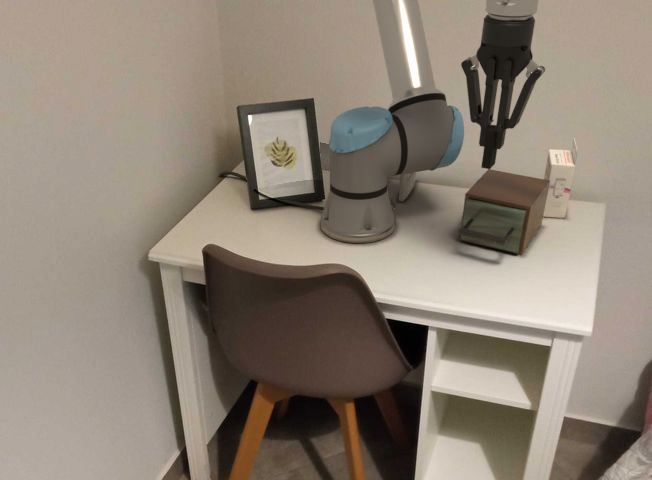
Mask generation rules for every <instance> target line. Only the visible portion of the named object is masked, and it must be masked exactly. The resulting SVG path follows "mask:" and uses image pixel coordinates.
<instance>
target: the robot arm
mask: <svg viewBox="0 0 652 480" xmlns="http://www.w3.org/2000/svg"><path fill="white" fill-rule="evenodd" d="M372 4H373V9H374V14H375V18H376V19H375V20H376V25H377V28H378V33H379V38H380V42H381V43H380V44H381V47H382V53H383V58H384V62H385V68H386V72H387V77H388V81H389V86H390V92H391V95H392V97H391V98H392V101H391V102H390V104H389V106H388V107H387V108H385V107H381V106H371V107H370V106H369V105H368V106H360V107H354V108H351V109H348V110H346V111H344V112H342V113H340V114H339V115H337V116H336V117H335V119H334V120H333V121H332V122H331V125H330V135H329V141H328V147H329V193H328V196H327V199H326V201H325V205H324V206H321V205H320V206H319V205H313V204H308V203H303V202H299V201H293V200H289V199H286V200H280V201H279V202H280V203H284V204H287V205H291V206H296V207H301V208H306V209H310V210H311V209H312V210H315V211H316V210H317V211H322V213H321V216H320V228H321V231H322V232H323V234H325V235H326V236H327V237H329V238H331V239H333V240H335V241H336V240H337V241H340V242H344V243H351V244H352V243H353V244H366V243H372V242H377V241H381V240H383V239H385V238H387V237H388V236H390V235H391V234H392V233H393V232H394V230H395V223H396V218H395V213H394V211H396V208H397V204H396V202H395V201H394V200H393V198H390V196H389V192H388V189H389V178H390V177H394V176H401V174H407V173H414V172H416V173H420V172H425V171H435V170H437V169H441V168H446V167H448V166H451V165H452V164H453V163H454V162H456V160H457V159H458V158H459V155H460V153H461V151H462V147H463V144H464V138H465V124H464V117H463V115H462V113H461V111H460V109H458V107H457V106H454V105H451V104H450V105H448V102H447V97H446V94H445V92H443V91H442V90H439V88H437V87H436V82H435V77H434V73H433V67H432V63H431V58H430V52H429V49H428V48H429V47H428V43H427V39H426V33H425V29H424V23H423V18H422V14H421V9H420V4H419V0H372ZM538 6H539V0H485V9H484V11H485V12H486V13H487V14H486V15H485V17H484V18H483V22H482V29H481V39H480V45H479V48H477V50H476V53H475V54H474V55H473V56H469V57H467V58H466V59H464V60H463V61H461V63H460V66H461V69H462V71H463V72H464V75H465V80H466V89H467V90H466V91H467V99H468V107H469V119H470V121H471V123H473V124H477V125H478V126H479V127H480V132H479V140H478V145H479V147H483V152H482V153H483V154H482V160H481V168H482V169H487V170H488V169H491V170H492V168H493V167H494V166H495V164H496V161H497V160H496V159H497V155H498V153H497V152H498V150H501V148H503V147H504V145H505V140H506V135H507V130H509V129H511V130H513V129H514V128H515V127H517V125H518V124H519V123H520V121H521V118H522V116H523V114H524V112H525V110H526V108H527V107H526V106H527V104H528V102H529V99H530V97H531V95H532V93H533V90H534V88H535V86H536V83H537V81H538V80H539V79H540V78H541V76H543V74H544V73H545V72H546V68H545V66H543V65H539V64H537V62H535V61H534V59H533V52H532V42H533V36H534V32H535V31H534V30H535V24H536V19H535V17H534V15H535V14H536V13H537V12H538ZM480 66H481V69H482V71H483V73H484V75H485V82H484V85H485V89H484V97H483V102H482V96H481V95H482V94H481V84H480V83H481V82H480V74H479V70H478V69H479V68H480ZM525 69H526V73H525V77H526V78H527V79H526V80H525V82H524V83H523V86H522V88H521V89H520V93H519V95H518V97H517V100H516V102H515V105H514V107H513V110H512V112H511V106H512V99H513V92H514V86H515V83H516V78H517V77H518V76H519V75H520V74H521V73H522V72H523V71H524V70H525ZM499 81H501V83H500V87H501V88H500V90H501V91H500V97H499V104H498V111H497V118H496V124H492V123H493V122H494V120H495V119H494V112H495V106H496V101H497V93H498V86H499ZM482 103H483V104H482ZM510 112H511V115H510ZM226 175H228V176H229V175H230V176H233V177H237V178H239V179H241V180H243V181H246V177H247V176H245V175H243V174H241V173H238V172H235V171H232V170H231V171H230V170H226V171H222V172H220V173H219V174H218V178H222V177H224V176H226ZM393 209H394V211H393Z"/></svg>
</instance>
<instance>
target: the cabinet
mask: <svg viewBox="0 0 652 480" xmlns="http://www.w3.org/2000/svg"><path fill="white" fill-rule="evenodd" d="M549 184H550V181H549V180H544V178H538V177H533V176H528V175H521V174H518V173H511V172H506V171H502V170H501V171H500V170H495V169H492V168H491V169H487V170H486V171H485V172H484V173H483V174H482V175H481V176H480V178H478V180H477V181H476V182H475V183H474V184H473V185H472V186H471V187H470V188H469V189H468V190H467V191H466V192H465V194H464V203H463V209H462V217H461V225H460V228H462V226H463V218H464V211H465V203H466V200H467V199H472V200H473V199H476V200H480V201H485V202H490V203H495V204H500V205H504V206H509V207H514V208H519V209H524V210H526V211H527V212H526V217H525V222H524V228H523V233H522V239H521V244H520V249H519V251H518V253H515V252H511V251H507V250H503V249H498V248H494V247H490V246H486V245H481V244H477V243H473V242H469V241H465V240H461V235H459V241H460V242H465V243H469V244H472V245H477V246H481V247H485V248H490V249H495V250H498V251H502V252H507V253H511V254H515V255H519V256H523V254H524V252H526V249H527V248H528V247H529V245H530V244H531V242H532V241H533V240H534V238H535V237H536V235H537V234H538V232H539V231H540V229H541V228H542V223H543V219H544V217H543V214H544V209H545V204H546V200H547V195H548V190H549Z"/></svg>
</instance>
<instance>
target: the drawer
mask: <svg viewBox="0 0 652 480" xmlns="http://www.w3.org/2000/svg"><path fill="white" fill-rule="evenodd" d="M526 212H527V211H526V210H524V209H519V208H516V209H515V208H510V207H505V206H500V205H496V204H492V203H490V202H485V201H480V200H476V199H473V200H472V199H467V200H466V203H465V211H464V218H463V226H462V228H461V227H459V229H458V231H457V235H458V236H460V235H461V240H465V241H469V242H473V243H477V244H481V245H486V246H490V247H494V248H498V249H503V250H507V251H511V252H515V253H518V251H519V249H520V244H521V239H522V233H523V228H524V222H525V217H526ZM477 244H476V245H477ZM481 245H480V246H481ZM494 248H493V249H494ZM498 249H497V250H498ZM515 253H514V254H515Z"/></svg>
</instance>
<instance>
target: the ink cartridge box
mask: <svg viewBox="0 0 652 480" xmlns="http://www.w3.org/2000/svg"><path fill="white" fill-rule="evenodd" d="M572 137H573V138H572V147H571V149H553V148H552V149H551V148H549V150H548V152H547V158H546V165H545V170H544V175H543V179H544V180H549V181H550V184H549V190H548V195H547V200H546V204H545V209H544V214H543V218H559V219H565V218H566V216H567V215H566V214H567V211H568V205H569V201H570V195H571V191H572V187H573V182H574V178H575V172H576V166H577V159H578V154H579V153H578V151H579V150H578V145H577V141H576V138H575V136H572Z"/></svg>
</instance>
